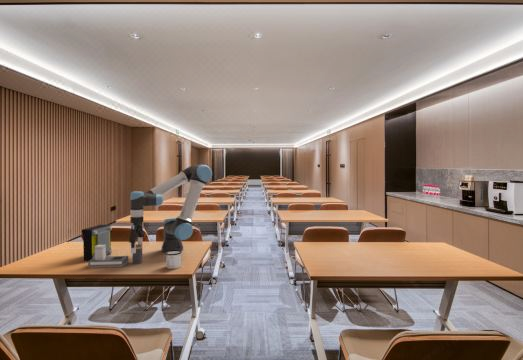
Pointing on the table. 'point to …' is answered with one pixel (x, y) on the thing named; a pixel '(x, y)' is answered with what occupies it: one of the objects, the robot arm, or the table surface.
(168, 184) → the robot arm
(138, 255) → the plug
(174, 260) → the mug
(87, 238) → the electrical component
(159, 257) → the table surface
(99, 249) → the white rectangular block
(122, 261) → the pdu strip
